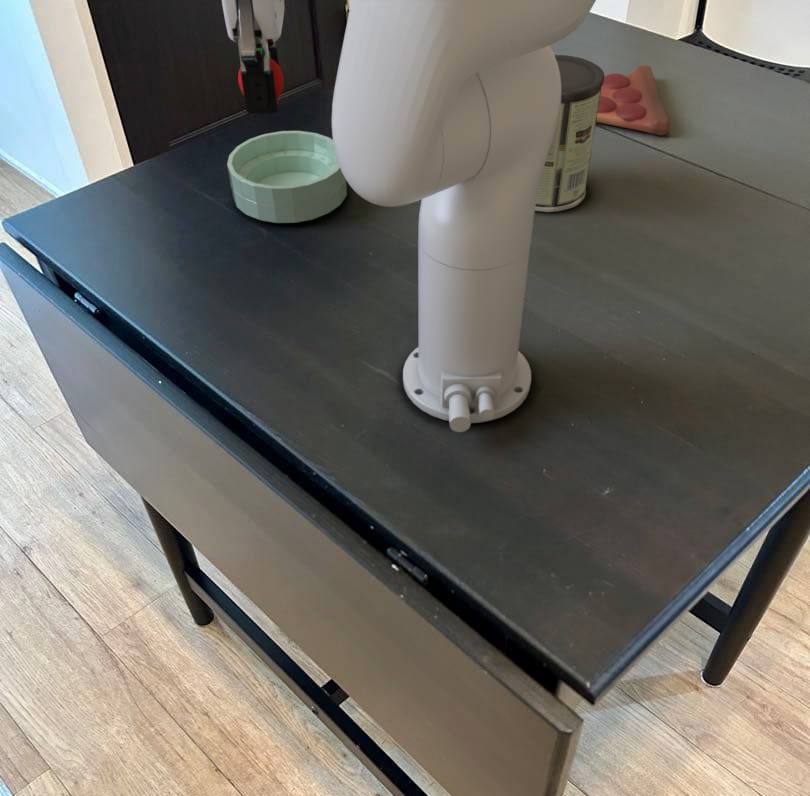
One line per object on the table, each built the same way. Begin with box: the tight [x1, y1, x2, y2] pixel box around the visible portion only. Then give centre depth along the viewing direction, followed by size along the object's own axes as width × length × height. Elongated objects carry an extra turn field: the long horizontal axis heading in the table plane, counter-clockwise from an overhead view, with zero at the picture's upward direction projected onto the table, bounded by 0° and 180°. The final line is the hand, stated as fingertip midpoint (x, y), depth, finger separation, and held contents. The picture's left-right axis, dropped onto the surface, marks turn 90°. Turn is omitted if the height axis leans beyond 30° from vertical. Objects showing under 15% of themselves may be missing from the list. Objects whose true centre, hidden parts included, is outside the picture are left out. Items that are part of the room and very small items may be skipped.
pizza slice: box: [596, 65, 670, 137], centre depth 118 cm, size 18×2×20 cm
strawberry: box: [237, 48, 284, 105], centre depth 86 cm, size 5×5×5 cm
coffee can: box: [535, 54, 605, 213], centre depth 99 cm, size 10×10×14 cm
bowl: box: [226, 130, 348, 224], centre depth 103 cm, size 14×14×5 cm
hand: (264, 98), depth 87 cm, fingers closed on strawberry, 4 cm apart
